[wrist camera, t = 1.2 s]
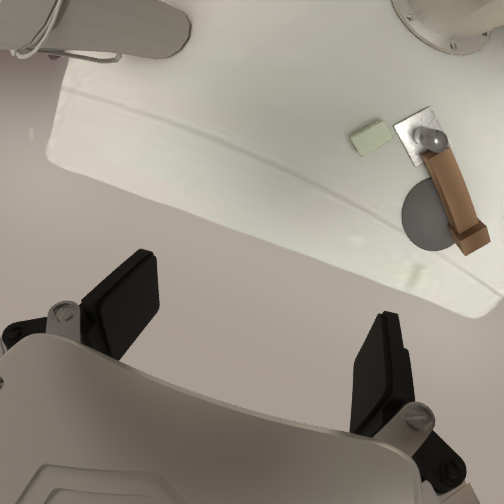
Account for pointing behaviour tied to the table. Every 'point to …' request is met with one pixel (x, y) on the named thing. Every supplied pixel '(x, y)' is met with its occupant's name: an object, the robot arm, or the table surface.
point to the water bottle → (92, 28)
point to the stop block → (371, 137)
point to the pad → (426, 218)
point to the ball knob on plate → (421, 135)
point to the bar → (456, 201)
